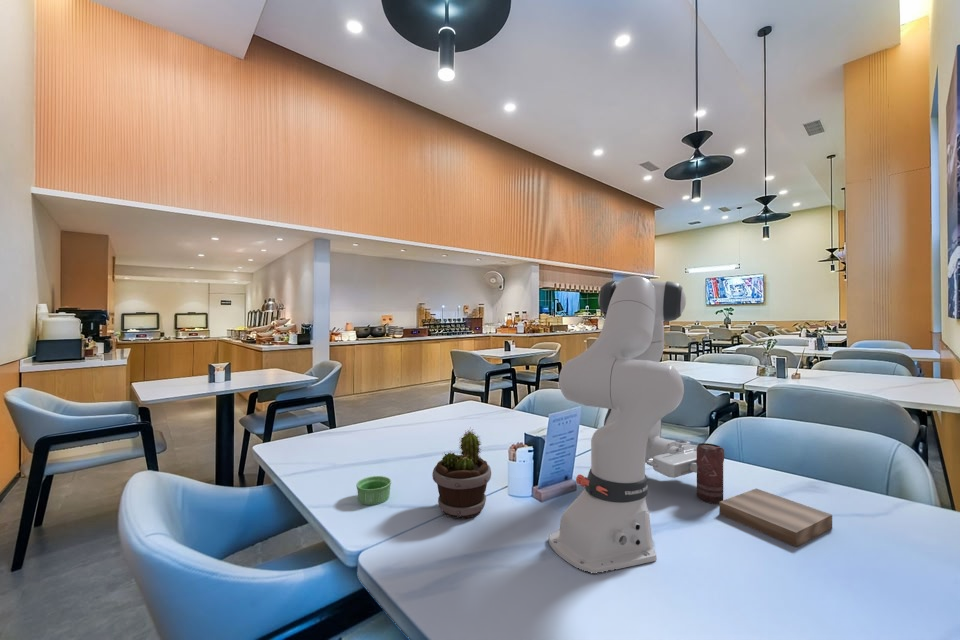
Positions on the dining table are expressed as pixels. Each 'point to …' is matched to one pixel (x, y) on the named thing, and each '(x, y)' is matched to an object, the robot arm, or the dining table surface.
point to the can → (710, 473)
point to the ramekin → (373, 490)
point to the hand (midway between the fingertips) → (713, 471)
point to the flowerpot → (462, 479)
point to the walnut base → (776, 516)
